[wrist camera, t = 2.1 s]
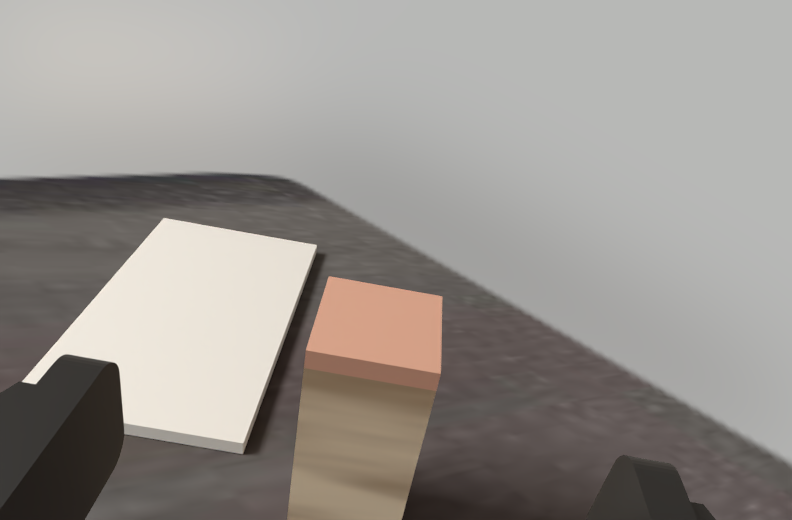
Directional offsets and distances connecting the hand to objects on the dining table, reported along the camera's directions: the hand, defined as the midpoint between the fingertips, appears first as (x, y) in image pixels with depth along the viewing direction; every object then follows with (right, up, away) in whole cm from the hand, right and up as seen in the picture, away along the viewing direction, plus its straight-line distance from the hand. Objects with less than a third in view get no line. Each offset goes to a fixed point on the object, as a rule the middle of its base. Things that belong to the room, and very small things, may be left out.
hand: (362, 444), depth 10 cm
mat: (-12, -1, +30) cm, 32 cm away
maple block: (-2, -9, +19) cm, 21 cm away
